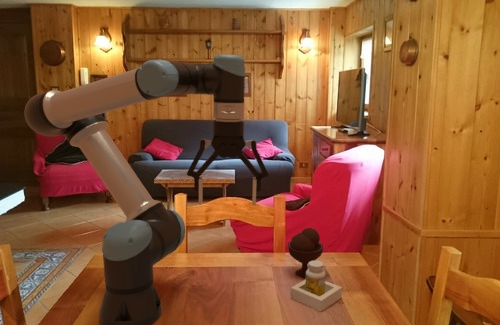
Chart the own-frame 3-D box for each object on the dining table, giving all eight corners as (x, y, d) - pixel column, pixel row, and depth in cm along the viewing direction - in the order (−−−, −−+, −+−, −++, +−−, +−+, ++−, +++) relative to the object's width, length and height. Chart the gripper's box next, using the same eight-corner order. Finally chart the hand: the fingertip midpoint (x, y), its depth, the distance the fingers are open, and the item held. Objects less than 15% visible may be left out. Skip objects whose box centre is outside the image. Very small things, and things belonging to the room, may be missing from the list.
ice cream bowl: (305, 263, 137) (307, 220, 134) (329, 276, 128) (331, 230, 125) (280, 271, 131) (280, 226, 128) (303, 285, 122) (304, 237, 119)
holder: (290, 298, 115) (290, 287, 114) (311, 285, 122) (312, 275, 121) (320, 311, 108) (321, 300, 108) (341, 297, 115) (341, 287, 115)
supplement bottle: (328, 297, 114) (330, 264, 112) (314, 302, 111) (315, 269, 109) (315, 289, 119) (316, 257, 117) (301, 294, 116) (302, 262, 114)
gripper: (175, 120, 98) (176, 207, 102) (281, 122, 99) (277, 208, 103) (179, 117, 105) (180, 198, 109) (277, 119, 106) (274, 199, 110)
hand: (227, 203), depth 106 cm, fingers open, 13 cm apart
